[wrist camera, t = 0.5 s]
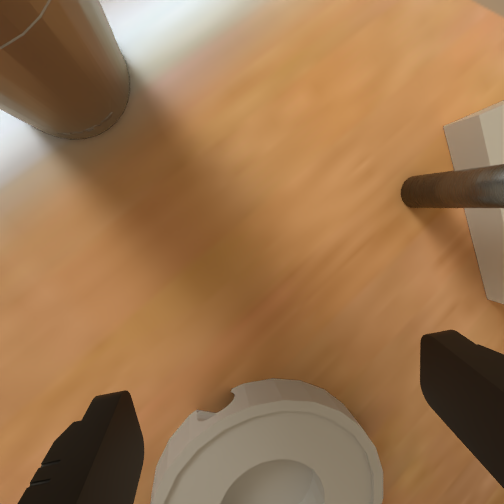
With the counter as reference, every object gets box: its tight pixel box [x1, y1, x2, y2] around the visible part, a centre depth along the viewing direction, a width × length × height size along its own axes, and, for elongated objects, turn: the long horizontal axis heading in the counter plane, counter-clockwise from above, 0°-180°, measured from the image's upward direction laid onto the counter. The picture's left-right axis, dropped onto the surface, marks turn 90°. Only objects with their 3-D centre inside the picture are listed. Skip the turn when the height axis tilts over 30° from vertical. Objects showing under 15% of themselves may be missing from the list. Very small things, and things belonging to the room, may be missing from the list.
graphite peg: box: [401, 164, 504, 208], centre depth 25 cm, size 3×3×14 cm
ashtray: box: [150, 378, 383, 504], centre depth 32 cm, size 23×23×4 cm
